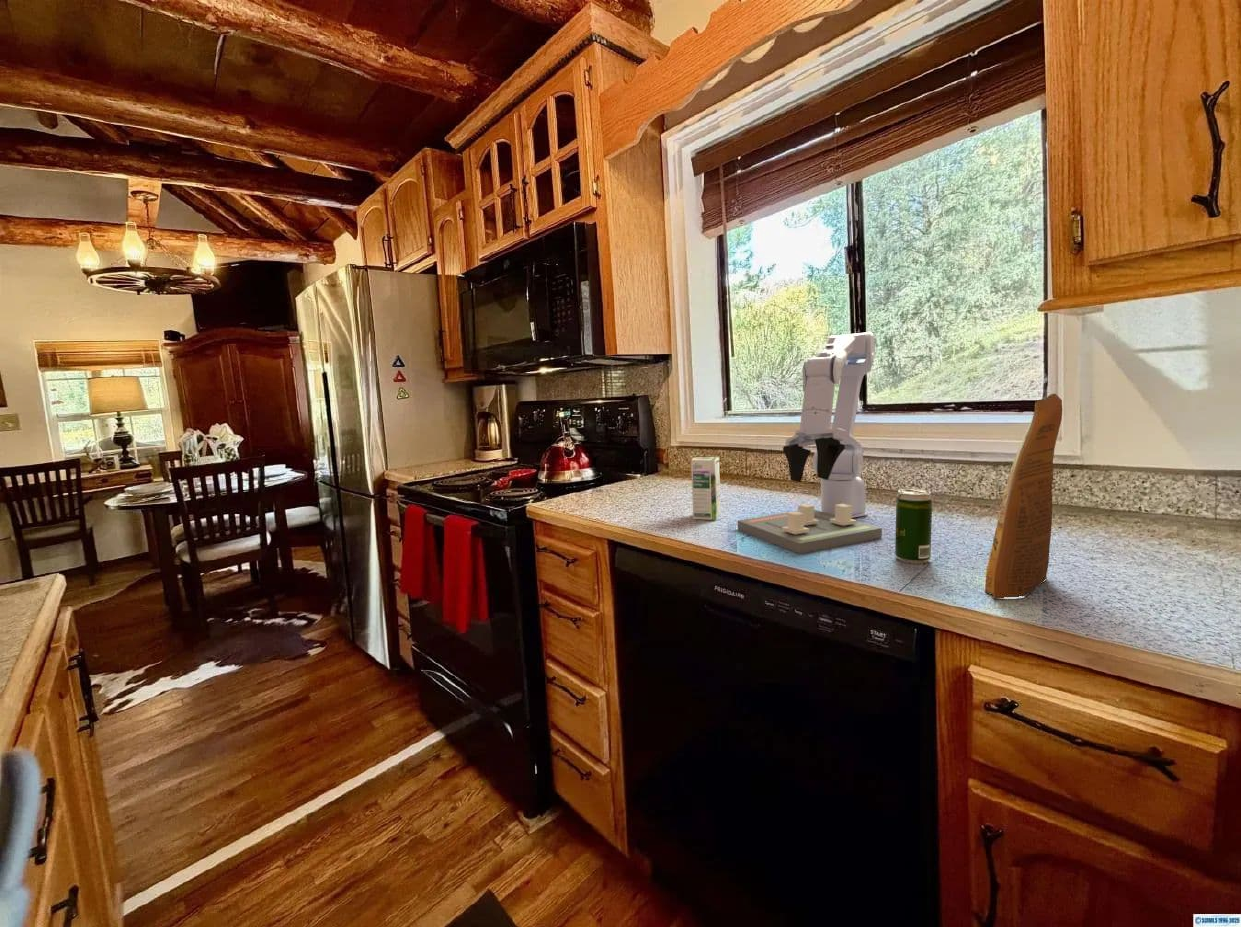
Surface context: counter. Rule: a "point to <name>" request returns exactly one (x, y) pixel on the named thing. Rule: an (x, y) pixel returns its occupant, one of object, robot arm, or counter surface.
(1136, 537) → the counter surface
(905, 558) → the beer can
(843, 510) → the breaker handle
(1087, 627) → the counter surface
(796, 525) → the breaker handle
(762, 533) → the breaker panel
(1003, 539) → the pancake mix bag
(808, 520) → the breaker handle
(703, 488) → the syrup box
